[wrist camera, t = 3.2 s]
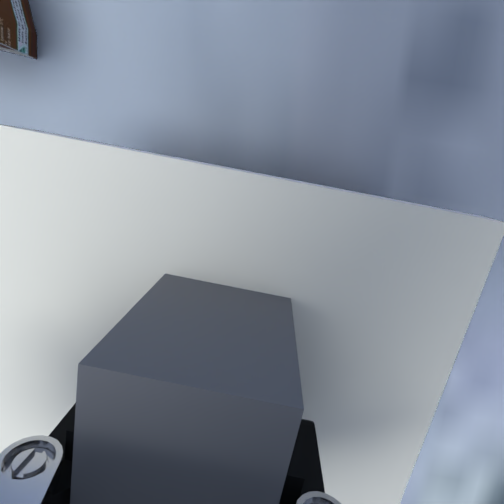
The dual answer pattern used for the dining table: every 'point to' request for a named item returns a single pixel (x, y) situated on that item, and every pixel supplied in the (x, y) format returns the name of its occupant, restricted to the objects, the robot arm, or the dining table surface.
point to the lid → (223, 322)
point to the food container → (17, 28)
